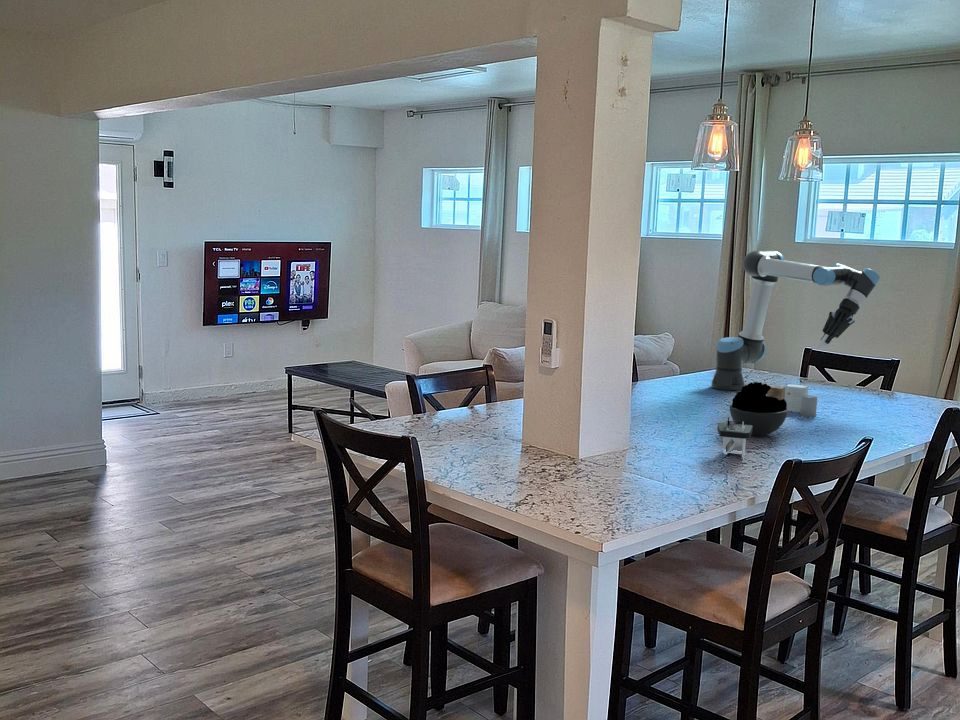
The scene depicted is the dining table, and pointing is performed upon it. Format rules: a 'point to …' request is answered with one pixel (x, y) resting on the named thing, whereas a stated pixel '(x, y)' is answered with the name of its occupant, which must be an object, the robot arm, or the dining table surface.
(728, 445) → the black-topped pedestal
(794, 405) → the small box
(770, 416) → the bowl of black rocks
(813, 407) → the white rectangular block
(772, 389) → the walnut block
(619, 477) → the dining table surface
